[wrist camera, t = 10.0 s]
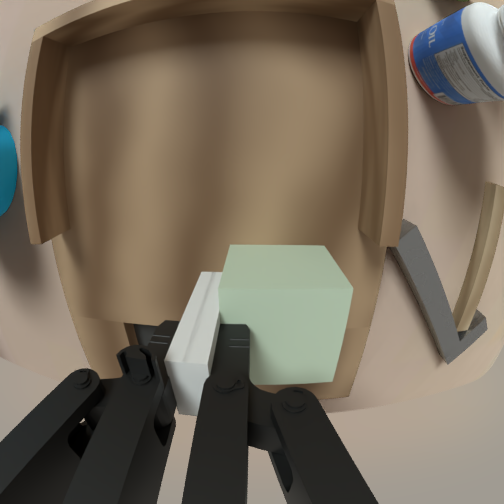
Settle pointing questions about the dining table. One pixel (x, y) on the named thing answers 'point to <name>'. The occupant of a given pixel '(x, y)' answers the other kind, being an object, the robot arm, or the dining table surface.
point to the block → (287, 310)
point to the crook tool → (433, 295)
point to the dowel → (480, 256)
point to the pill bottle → (462, 56)
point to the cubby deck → (211, 153)
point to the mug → (7, 169)
